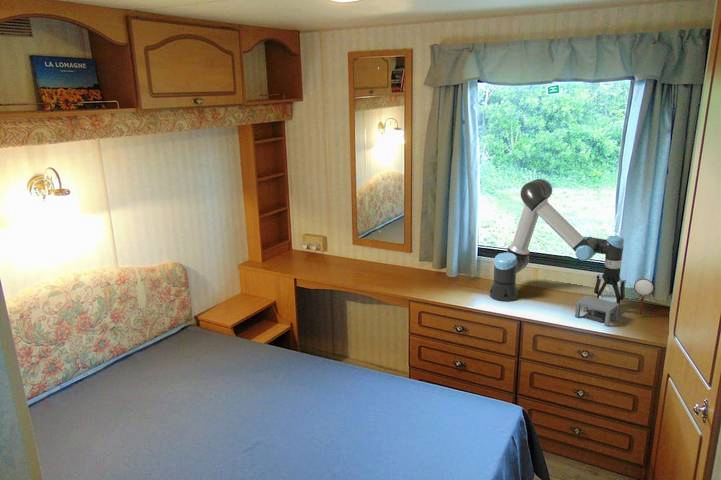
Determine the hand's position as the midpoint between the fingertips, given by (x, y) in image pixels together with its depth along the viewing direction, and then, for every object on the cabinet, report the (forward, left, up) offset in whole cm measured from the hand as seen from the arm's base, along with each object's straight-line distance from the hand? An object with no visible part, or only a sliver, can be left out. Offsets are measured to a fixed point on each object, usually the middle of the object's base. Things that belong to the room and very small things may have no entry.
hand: (607, 309), depth 270 cm
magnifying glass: (+15, +2, 0) cm, 15 cm away
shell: (0, 0, 0) cm, 0 cm away
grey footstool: (0, -14, 0) cm, 14 cm away
